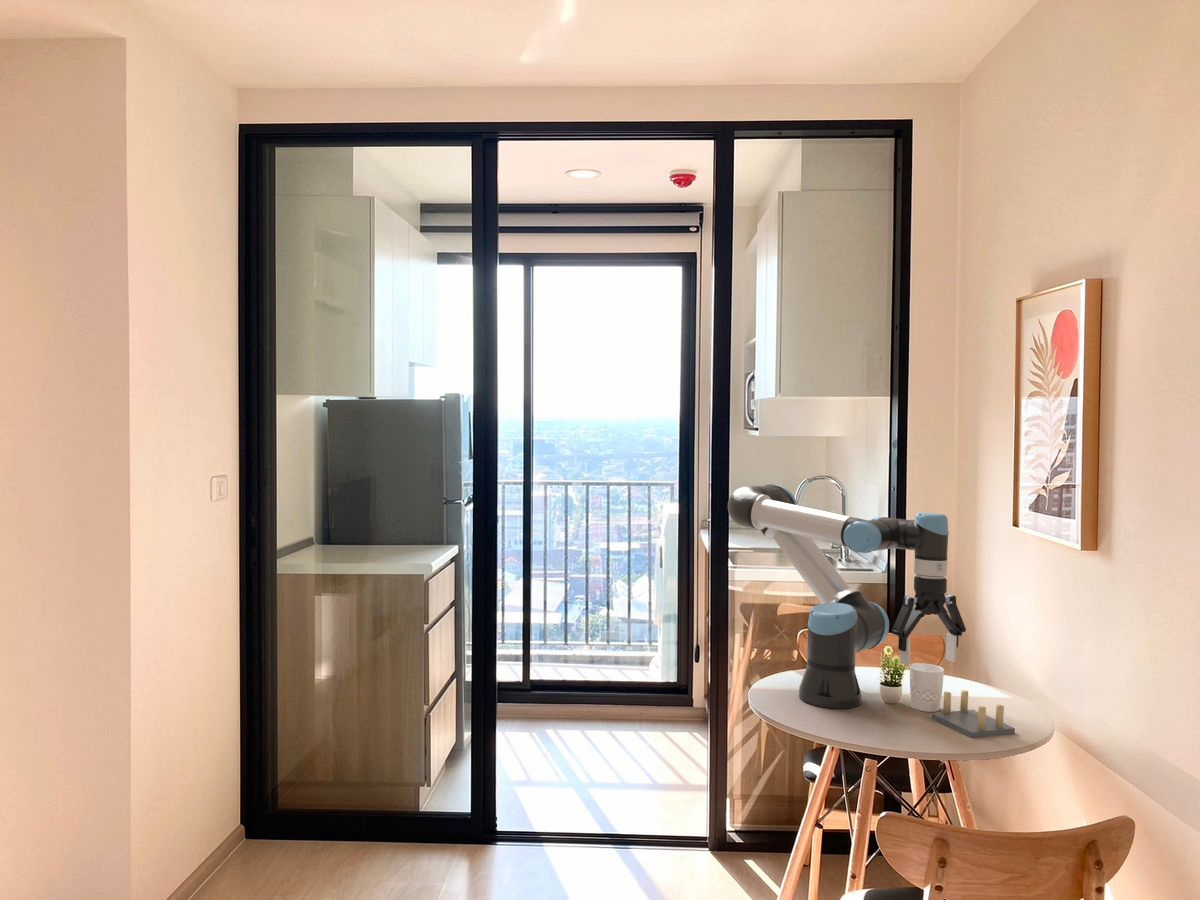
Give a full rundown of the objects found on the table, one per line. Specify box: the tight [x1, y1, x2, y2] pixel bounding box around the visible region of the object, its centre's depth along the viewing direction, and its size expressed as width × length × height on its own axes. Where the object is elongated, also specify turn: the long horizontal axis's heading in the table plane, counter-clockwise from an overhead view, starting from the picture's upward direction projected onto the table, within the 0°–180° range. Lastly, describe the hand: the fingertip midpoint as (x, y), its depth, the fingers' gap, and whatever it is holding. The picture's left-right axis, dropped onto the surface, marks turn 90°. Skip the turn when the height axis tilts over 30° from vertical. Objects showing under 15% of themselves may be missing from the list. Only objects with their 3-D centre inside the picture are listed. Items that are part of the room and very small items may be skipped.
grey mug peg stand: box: [931, 689, 1016, 739], centre depth 192 cm, size 12×13×6 cm
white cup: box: [909, 662, 945, 713], centre depth 204 cm, size 8×8×10 cm
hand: (928, 662), depth 204 cm, fingers open, 13 cm apart
